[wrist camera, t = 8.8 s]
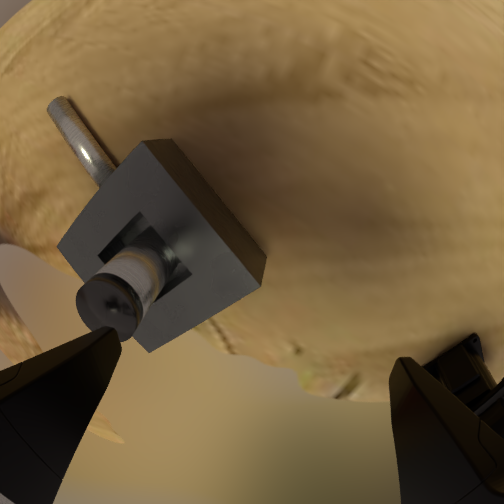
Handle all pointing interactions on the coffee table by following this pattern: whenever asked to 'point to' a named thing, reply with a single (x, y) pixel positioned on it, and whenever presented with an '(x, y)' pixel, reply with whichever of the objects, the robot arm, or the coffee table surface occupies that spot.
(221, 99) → the coffee table surface
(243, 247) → the chuck block
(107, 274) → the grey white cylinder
